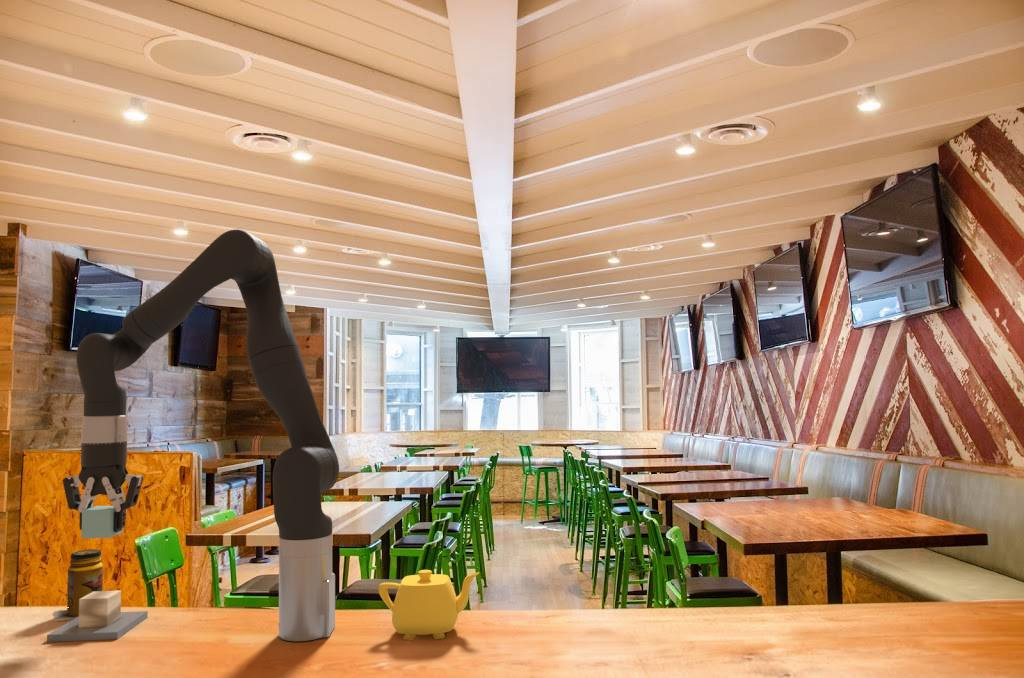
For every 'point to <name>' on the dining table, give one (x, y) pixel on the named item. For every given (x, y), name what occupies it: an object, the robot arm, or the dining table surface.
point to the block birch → (99, 608)
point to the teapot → (425, 604)
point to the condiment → (81, 580)
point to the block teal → (98, 522)
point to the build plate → (97, 629)
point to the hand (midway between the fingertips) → (102, 531)
